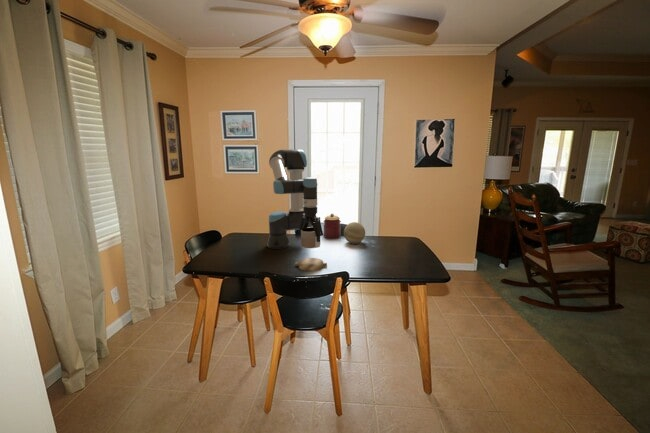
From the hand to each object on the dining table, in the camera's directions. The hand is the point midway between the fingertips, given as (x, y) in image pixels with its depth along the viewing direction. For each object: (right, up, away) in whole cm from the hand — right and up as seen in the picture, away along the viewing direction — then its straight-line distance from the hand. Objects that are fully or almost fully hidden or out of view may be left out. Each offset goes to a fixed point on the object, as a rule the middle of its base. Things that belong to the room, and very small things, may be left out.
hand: (310, 244), depth 172 cm
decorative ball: (+29, -3, +45) cm, 53 cm away
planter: (0, -1, 0) cm, 1 cm away
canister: (+13, +1, +62) cm, 63 cm away
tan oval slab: (0, -13, +3) cm, 13 cm away
